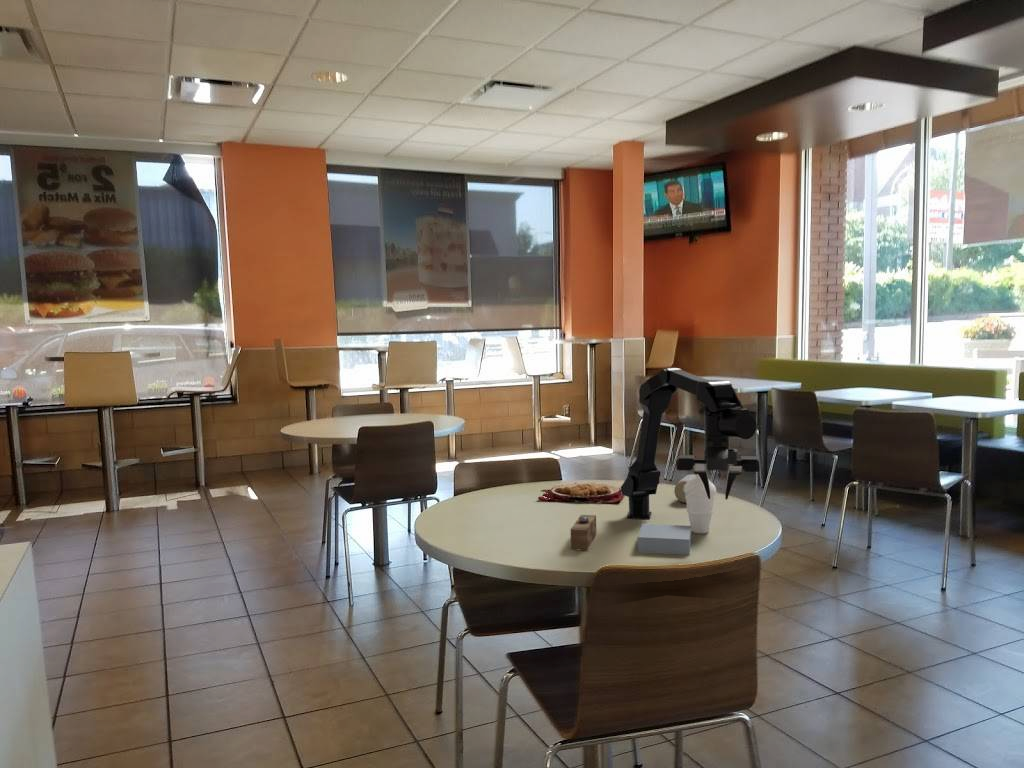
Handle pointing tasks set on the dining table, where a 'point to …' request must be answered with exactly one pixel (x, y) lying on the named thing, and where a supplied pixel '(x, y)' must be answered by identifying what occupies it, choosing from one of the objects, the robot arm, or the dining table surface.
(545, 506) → the dining table surface
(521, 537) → the dining table surface
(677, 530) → the blue-grey square block
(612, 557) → the dining table surface
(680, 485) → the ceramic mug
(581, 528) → the walnut bench dog
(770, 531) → the dining table surface
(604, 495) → the plate with food
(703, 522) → the soft serve ice cream cone
